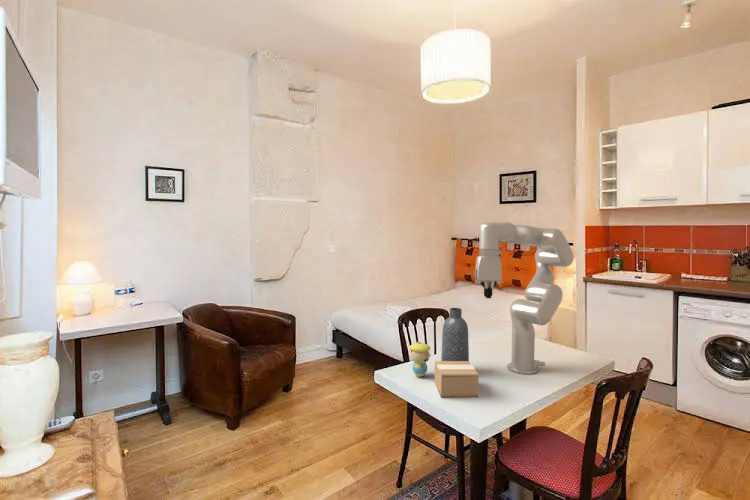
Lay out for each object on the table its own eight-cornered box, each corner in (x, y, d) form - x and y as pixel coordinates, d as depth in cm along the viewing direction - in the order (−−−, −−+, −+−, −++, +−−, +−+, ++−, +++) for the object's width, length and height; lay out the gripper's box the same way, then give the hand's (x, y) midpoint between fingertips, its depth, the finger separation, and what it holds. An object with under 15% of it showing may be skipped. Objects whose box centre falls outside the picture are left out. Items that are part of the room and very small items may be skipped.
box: (468, 382, 162) (468, 363, 161) (478, 397, 148) (478, 376, 147) (434, 382, 162) (434, 363, 161) (441, 397, 148) (441, 377, 147)
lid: (468, 363, 161) (468, 360, 161) (478, 376, 147) (478, 373, 147) (434, 362, 161) (434, 360, 161) (441, 376, 147) (441, 373, 147)
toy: (425, 381, 163) (426, 346, 162) (406, 377, 168) (406, 342, 166) (433, 375, 169) (433, 341, 168) (414, 371, 174) (414, 338, 173)
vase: (474, 371, 173) (475, 308, 171) (459, 379, 164) (460, 313, 162) (451, 365, 181) (451, 304, 179) (435, 372, 173) (435, 309, 171)
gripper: (503, 252, 163) (502, 295, 165) (468, 252, 163) (467, 296, 164) (510, 253, 156) (509, 299, 157) (473, 254, 155) (472, 299, 157)
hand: (488, 297), depth 161 cm, fingers closed
